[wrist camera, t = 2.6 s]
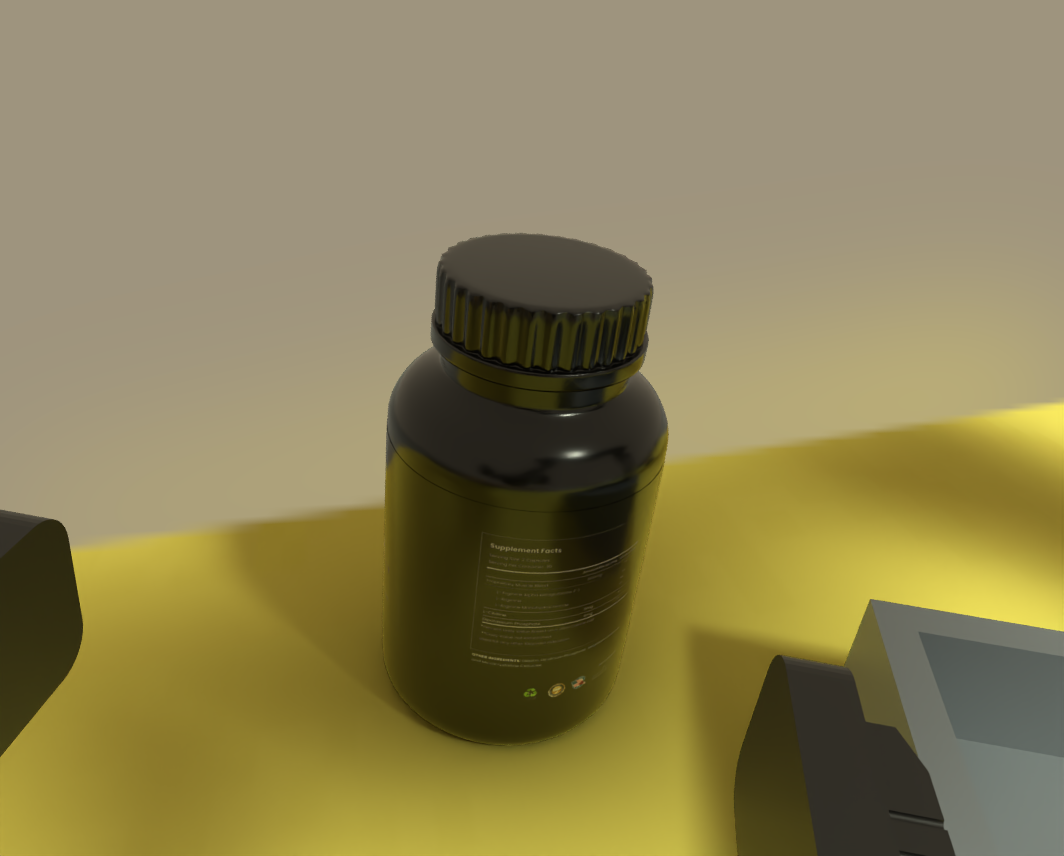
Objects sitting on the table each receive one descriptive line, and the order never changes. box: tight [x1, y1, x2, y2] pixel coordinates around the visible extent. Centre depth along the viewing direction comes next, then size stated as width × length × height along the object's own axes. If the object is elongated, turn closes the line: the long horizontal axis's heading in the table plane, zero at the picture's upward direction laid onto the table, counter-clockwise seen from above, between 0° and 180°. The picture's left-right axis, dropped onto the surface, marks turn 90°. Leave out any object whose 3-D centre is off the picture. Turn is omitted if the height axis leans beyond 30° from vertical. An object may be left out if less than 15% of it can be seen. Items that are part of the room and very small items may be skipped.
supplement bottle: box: [382, 233, 669, 745], centre depth 22 cm, size 7×7×12 cm
